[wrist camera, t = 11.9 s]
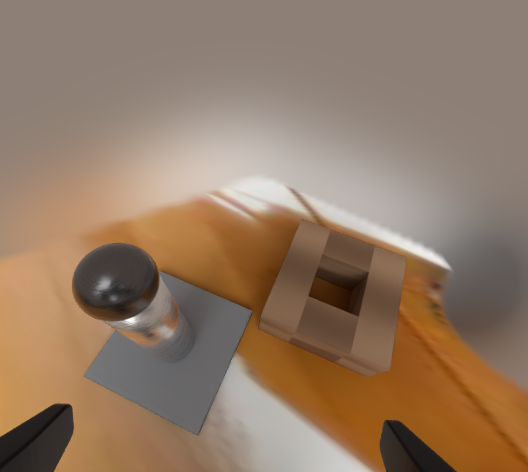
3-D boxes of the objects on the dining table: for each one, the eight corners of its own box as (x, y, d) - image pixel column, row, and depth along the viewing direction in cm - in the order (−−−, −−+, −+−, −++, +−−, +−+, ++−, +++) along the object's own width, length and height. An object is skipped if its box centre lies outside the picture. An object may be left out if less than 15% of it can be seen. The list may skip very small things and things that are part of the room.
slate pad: (198, 434, 19) (196, 435, 18) (87, 376, 20) (83, 375, 20) (252, 312, 24) (252, 310, 23) (158, 272, 25) (157, 269, 24)
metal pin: (196, 360, 21) (145, 299, 10) (151, 367, 20) (44, 313, 9) (194, 317, 22) (149, 224, 11) (152, 323, 22) (64, 232, 11)
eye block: (366, 376, 22) (389, 370, 18) (258, 329, 23) (261, 314, 20) (385, 277, 26) (406, 257, 23) (294, 242, 28) (301, 218, 24)
